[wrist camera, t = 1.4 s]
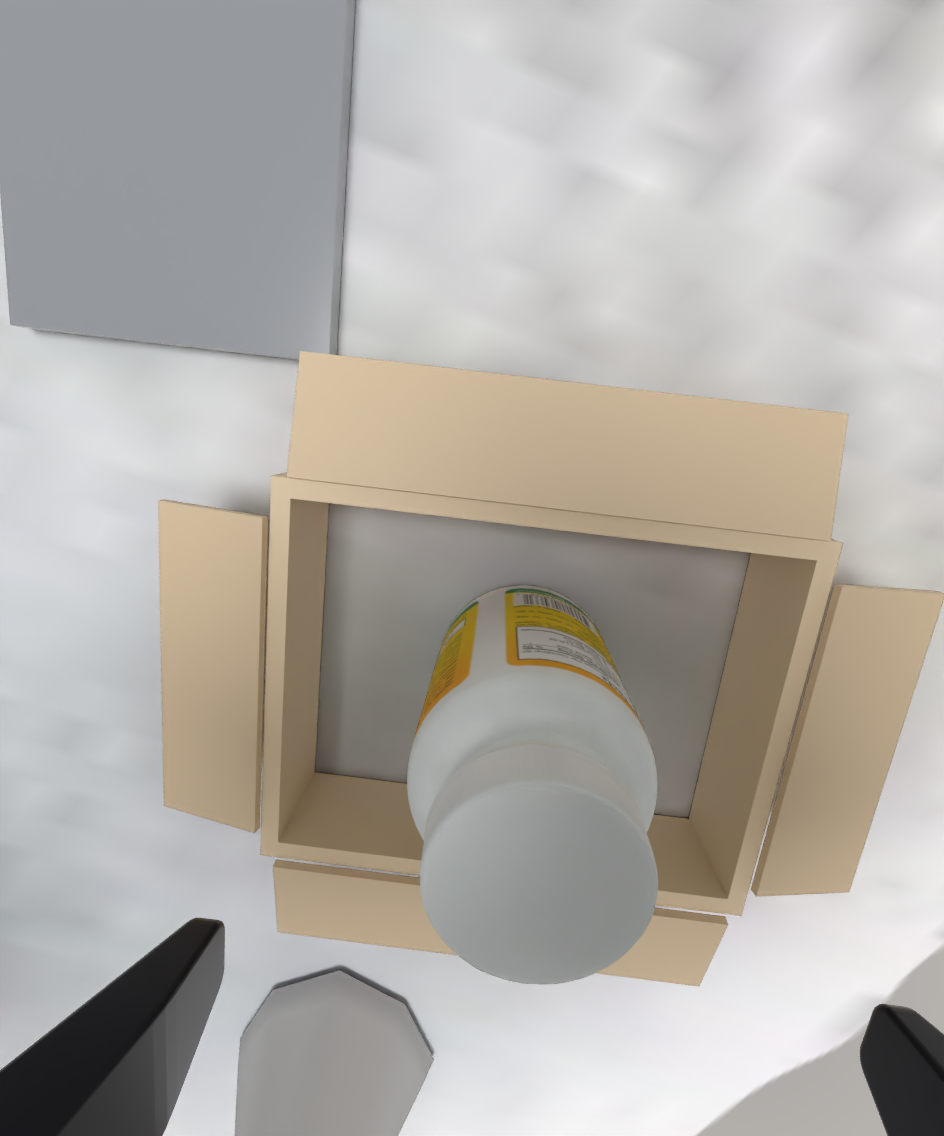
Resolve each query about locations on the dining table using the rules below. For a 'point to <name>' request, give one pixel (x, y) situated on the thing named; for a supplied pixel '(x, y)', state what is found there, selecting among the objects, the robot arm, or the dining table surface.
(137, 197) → the plate
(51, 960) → the dining table surface
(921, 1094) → the robot arm
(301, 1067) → the flask
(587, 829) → the supplement bottle
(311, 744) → the carton
